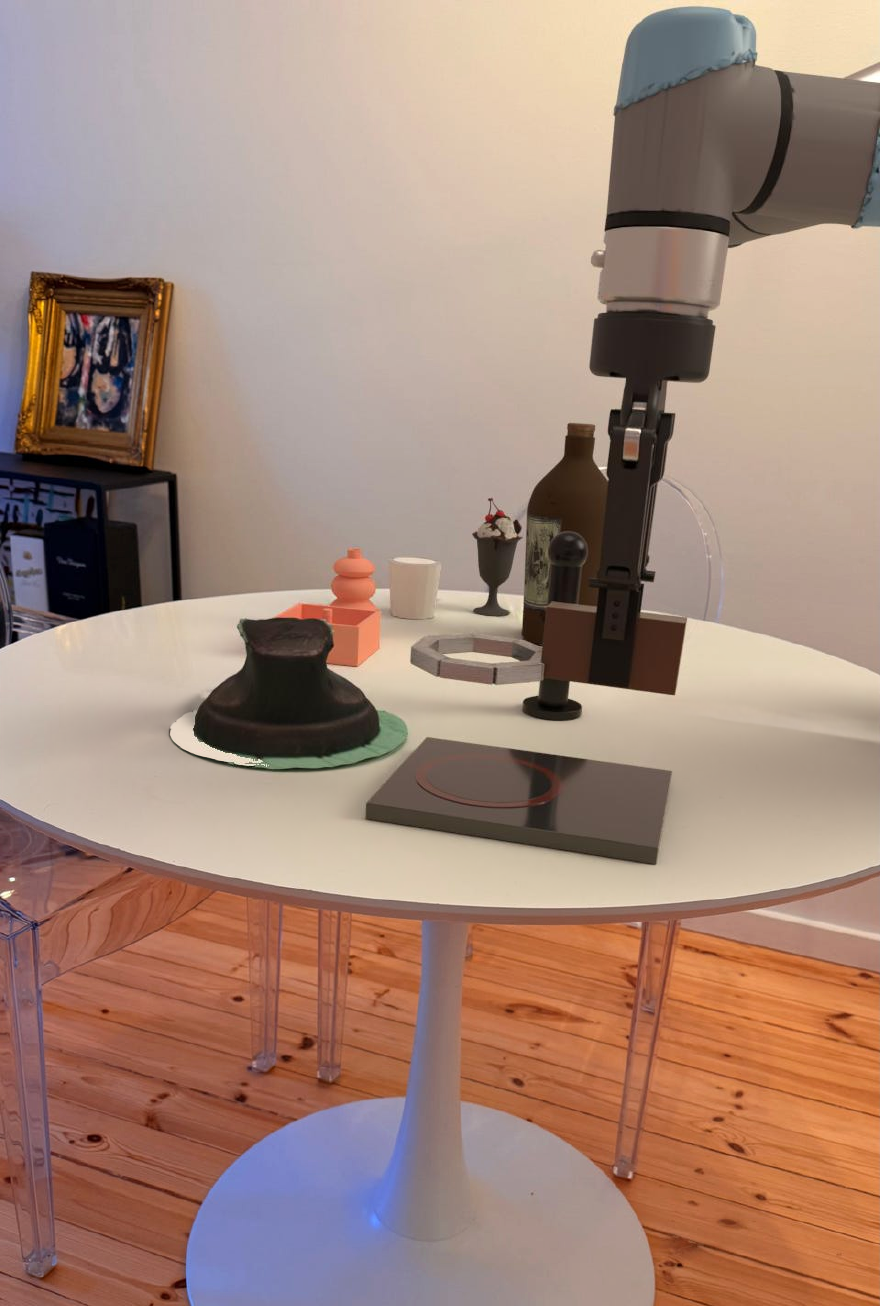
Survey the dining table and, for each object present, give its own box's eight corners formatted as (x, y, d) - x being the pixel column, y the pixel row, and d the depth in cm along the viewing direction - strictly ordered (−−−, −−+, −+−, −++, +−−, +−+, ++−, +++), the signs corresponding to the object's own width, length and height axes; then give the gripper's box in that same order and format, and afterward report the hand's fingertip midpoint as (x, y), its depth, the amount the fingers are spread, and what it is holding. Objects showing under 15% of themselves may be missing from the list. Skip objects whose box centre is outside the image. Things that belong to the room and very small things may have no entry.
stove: (670, 785, 85) (672, 769, 85) (656, 864, 71) (658, 846, 70) (425, 750, 90) (426, 735, 89) (365, 818, 75) (365, 801, 75)
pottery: (357, 666, 114) (360, 572, 110) (271, 656, 115) (272, 564, 112) (398, 631, 130) (401, 549, 127) (322, 623, 132) (324, 542, 129)
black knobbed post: (584, 707, 104) (604, 530, 99) (577, 723, 99) (597, 537, 93) (527, 700, 106) (543, 524, 100) (517, 715, 101) (533, 531, 95)
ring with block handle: (679, 675, 79) (689, 607, 77) (671, 709, 70) (682, 634, 69) (434, 643, 83) (438, 578, 81) (397, 672, 74) (402, 599, 73)
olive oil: (572, 628, 138) (593, 422, 130) (621, 647, 130) (647, 428, 121) (500, 632, 134) (517, 418, 125) (546, 652, 125) (567, 424, 116)
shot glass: (416, 622, 136) (419, 566, 134) (375, 613, 140) (377, 558, 137) (449, 615, 141) (452, 561, 139) (408, 606, 145) (411, 554, 143)
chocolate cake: (142, 693, 97) (350, 684, 106) (187, 858, 86) (414, 833, 95) (161, 558, 86) (390, 561, 95) (214, 727, 76) (466, 713, 85)
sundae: (463, 614, 142) (471, 497, 137) (470, 605, 149) (479, 492, 143) (512, 619, 141) (523, 501, 136) (518, 609, 148) (528, 496, 142)
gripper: (608, 317, 75) (572, 649, 83) (579, 298, 61) (539, 699, 69) (719, 323, 74) (671, 661, 82) (714, 305, 60) (657, 714, 68)
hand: (610, 678), depth 76 cm, fingers closed on ring with block handle, 2 cm apart
